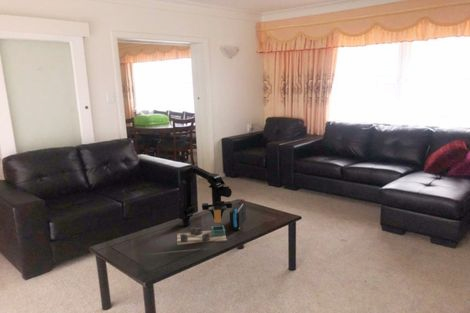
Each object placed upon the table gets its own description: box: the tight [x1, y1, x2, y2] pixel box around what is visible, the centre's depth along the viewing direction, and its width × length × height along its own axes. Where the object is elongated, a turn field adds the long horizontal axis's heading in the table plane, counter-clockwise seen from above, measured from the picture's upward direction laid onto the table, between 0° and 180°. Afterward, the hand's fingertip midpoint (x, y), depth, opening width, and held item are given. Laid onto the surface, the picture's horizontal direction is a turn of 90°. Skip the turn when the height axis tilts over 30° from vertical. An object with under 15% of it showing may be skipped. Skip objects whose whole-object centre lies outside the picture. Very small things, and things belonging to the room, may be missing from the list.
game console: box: [229, 198, 247, 231], centre depth 250 cm, size 28×6×15 cm, turn 166°
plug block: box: [213, 209, 222, 224], centre depth 232 cm, size 4×4×9 cm
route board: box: [176, 224, 228, 245], centre depth 230 cm, size 17×30×5 cm, turn 98°
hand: (217, 218), depth 233 cm, fingers closed on plug block, 4 cm apart
